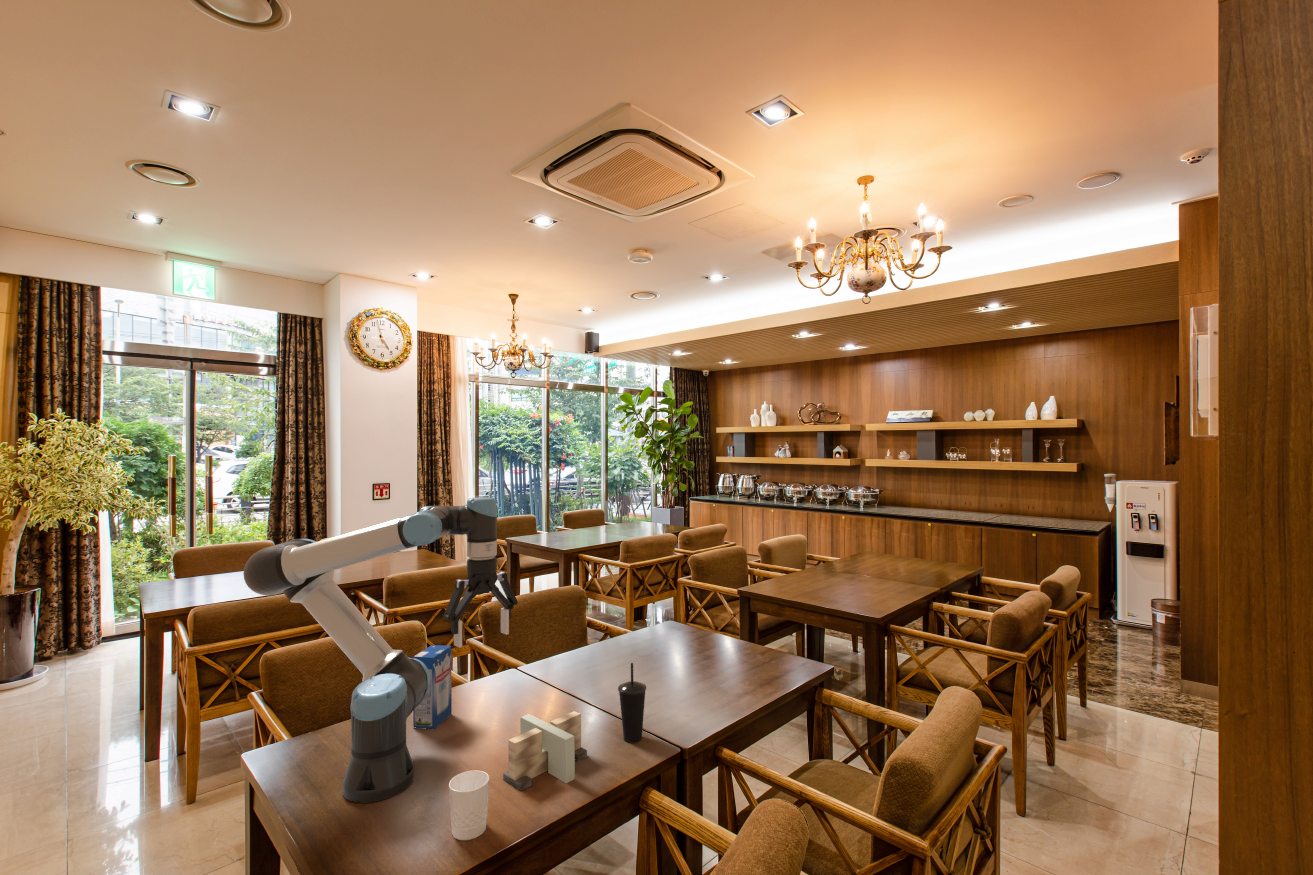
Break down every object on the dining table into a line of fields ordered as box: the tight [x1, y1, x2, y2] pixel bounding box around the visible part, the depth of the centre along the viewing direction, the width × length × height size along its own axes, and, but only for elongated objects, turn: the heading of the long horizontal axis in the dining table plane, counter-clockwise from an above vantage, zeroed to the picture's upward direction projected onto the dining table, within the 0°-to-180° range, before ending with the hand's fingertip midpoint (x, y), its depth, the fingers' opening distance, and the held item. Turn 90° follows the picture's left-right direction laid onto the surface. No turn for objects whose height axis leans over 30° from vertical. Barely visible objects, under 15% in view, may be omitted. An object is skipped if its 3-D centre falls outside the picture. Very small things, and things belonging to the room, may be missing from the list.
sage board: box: [519, 713, 576, 784], centre depth 143 cm, size 18×2×10 cm, turn 48°
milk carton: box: [412, 644, 453, 730], centre depth 169 cm, size 10×6×20 cm, turn 171°
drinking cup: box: [617, 662, 647, 744], centre depth 157 cm, size 8×8×20 cm
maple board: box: [502, 710, 588, 792], centre depth 143 cm, size 20×7×10 cm, turn 138°
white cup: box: [448, 769, 490, 841], centre depth 120 cm, size 8×8×10 cm
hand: (482, 639), depth 152 cm, fingers open, 13 cm apart
